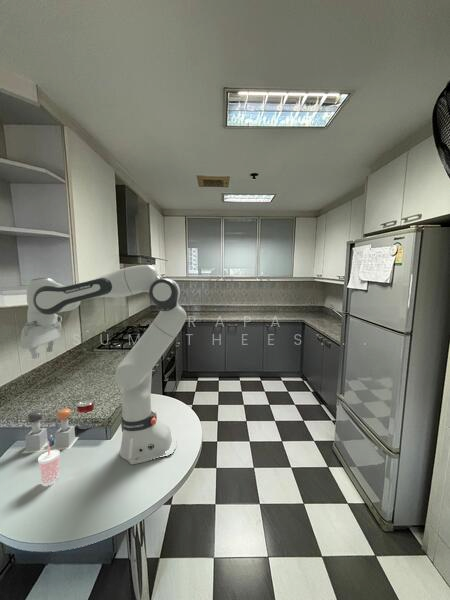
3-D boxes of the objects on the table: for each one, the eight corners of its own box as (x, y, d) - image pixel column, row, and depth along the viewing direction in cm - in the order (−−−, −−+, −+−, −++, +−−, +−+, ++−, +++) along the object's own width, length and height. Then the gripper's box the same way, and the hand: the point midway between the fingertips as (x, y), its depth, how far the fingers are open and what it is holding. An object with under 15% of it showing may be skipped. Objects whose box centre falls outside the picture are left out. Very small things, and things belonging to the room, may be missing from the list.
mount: (79, 439, 108) (78, 423, 107) (69, 451, 100) (69, 434, 99) (34, 443, 105) (33, 427, 105) (21, 455, 97) (20, 438, 97)
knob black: (45, 431, 104) (44, 410, 104) (39, 438, 100) (37, 415, 99) (33, 433, 103) (32, 411, 103) (26, 439, 99) (25, 416, 98)
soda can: (87, 433, 112) (86, 407, 112) (73, 431, 114) (72, 406, 113) (98, 424, 119) (97, 400, 119) (85, 423, 121) (84, 399, 120)
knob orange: (73, 429, 105) (72, 408, 105) (68, 435, 101) (67, 413, 101) (62, 430, 105) (60, 408, 104) (56, 436, 100) (54, 414, 100)
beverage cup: (44, 476, 86) (42, 437, 86) (64, 472, 88) (62, 434, 87) (35, 489, 80) (33, 448, 80) (56, 485, 82) (54, 445, 81)
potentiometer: (56, 442, 104) (55, 433, 104) (52, 446, 101) (52, 436, 101) (50, 443, 103) (49, 434, 103) (46, 446, 101) (46, 437, 101)
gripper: (33, 323, 86) (35, 362, 87) (63, 316, 106) (64, 348, 107) (14, 323, 85) (15, 362, 86) (48, 317, 105) (49, 348, 106)
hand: (43, 354), depth 97 cm, fingers open, 8 cm apart
